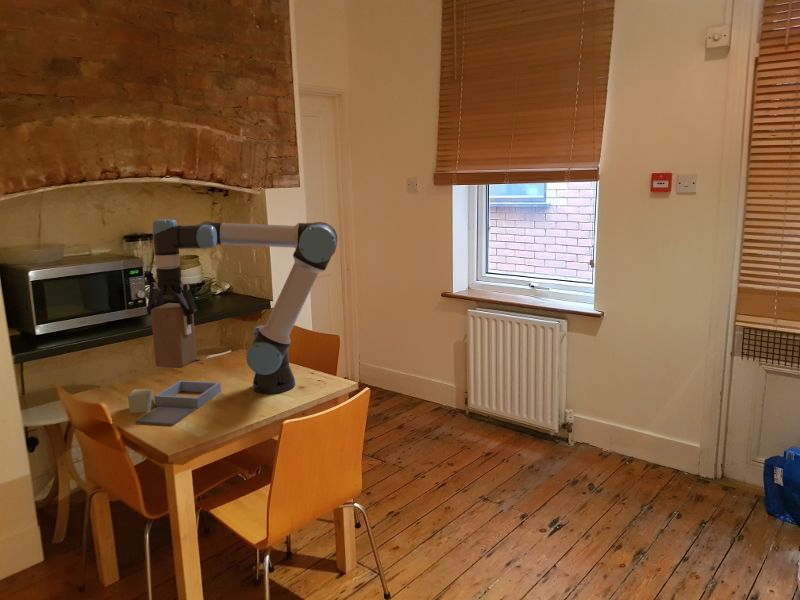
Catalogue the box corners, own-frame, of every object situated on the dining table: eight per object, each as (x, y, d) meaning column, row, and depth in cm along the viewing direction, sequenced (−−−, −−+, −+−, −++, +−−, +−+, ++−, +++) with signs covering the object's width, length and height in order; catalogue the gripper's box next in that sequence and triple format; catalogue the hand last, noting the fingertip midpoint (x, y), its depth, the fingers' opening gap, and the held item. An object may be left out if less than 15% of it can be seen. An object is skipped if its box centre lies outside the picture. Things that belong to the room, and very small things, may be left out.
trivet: (194, 410, 205) (194, 407, 204) (172, 425, 192) (172, 423, 192) (159, 408, 207) (159, 405, 207) (135, 423, 195) (135, 420, 195)
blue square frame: (221, 391, 221) (220, 382, 221) (198, 408, 206) (197, 398, 205) (180, 389, 224) (179, 380, 224) (155, 405, 209) (154, 396, 208)
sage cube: (154, 405, 210) (152, 388, 209) (148, 412, 204) (146, 395, 203) (136, 406, 210) (134, 389, 208) (129, 412, 204) (127, 395, 203)
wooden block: (181, 369, 202) (176, 309, 198) (154, 367, 204) (149, 308, 200) (198, 360, 211) (193, 303, 207) (172, 358, 214) (167, 302, 210)
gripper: (205, 266, 202) (210, 332, 206) (145, 264, 207) (151, 328, 212) (192, 269, 195) (197, 337, 199) (130, 267, 200) (137, 334, 205)
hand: (174, 333), depth 205 cm, fingers closed on wooden block, 10 cm apart
